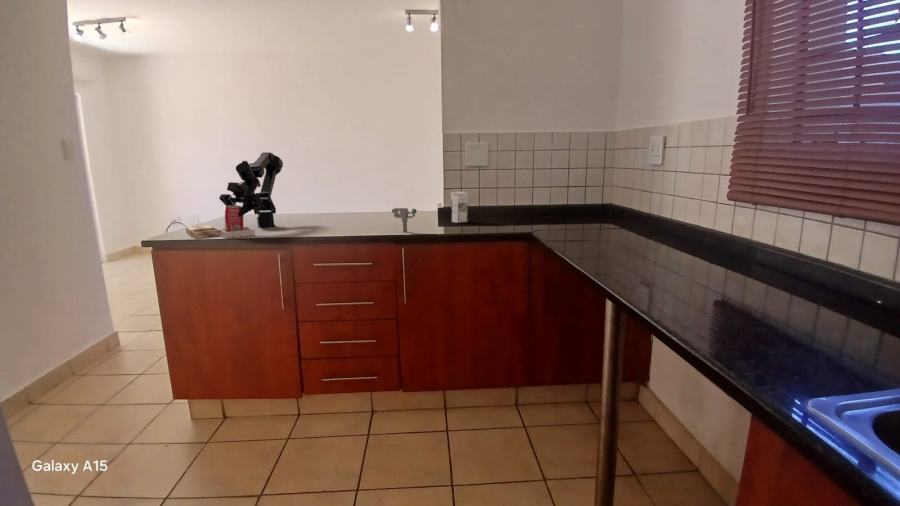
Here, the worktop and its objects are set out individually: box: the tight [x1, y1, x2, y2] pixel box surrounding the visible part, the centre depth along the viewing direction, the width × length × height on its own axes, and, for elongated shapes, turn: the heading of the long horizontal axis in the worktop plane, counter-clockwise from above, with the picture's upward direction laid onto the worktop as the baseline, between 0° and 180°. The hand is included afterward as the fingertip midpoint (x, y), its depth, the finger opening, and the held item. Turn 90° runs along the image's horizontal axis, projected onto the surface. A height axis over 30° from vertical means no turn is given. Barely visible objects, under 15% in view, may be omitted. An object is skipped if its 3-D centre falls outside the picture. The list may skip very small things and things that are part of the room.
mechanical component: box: [391, 207, 418, 233], centre depth 197 cm, size 3×10×10 cm, turn 78°
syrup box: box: [450, 190, 469, 224], centre depth 222 cm, size 6×6×14 cm
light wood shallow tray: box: [185, 224, 220, 239], centre depth 202 cm, size 10×20×2 cm, turn 37°
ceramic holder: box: [218, 226, 256, 239], centre depth 198 cm, size 12×12×2 cm
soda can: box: [224, 205, 244, 232], centre depth 197 cm, size 7×7×12 cm
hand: (232, 216), depth 195 cm, fingers open, 6 cm apart
